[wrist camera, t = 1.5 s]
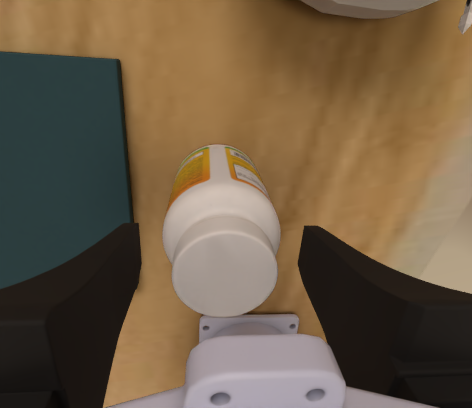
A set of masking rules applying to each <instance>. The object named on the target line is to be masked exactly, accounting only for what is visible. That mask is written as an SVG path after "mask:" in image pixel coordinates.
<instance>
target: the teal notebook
mask: <svg viewBox="0 0 472 408" xmlns="http://www.w3.org/2000/svg"><path fill="white" fill-rule="evenodd" d="M123 223H133V211H132V199H131V187H130V175H129V163H128V151H127V139H126V128H125V116H124V104H123V92H122V80H121V68H120V60H118V59H106V58H91V57H76V56H61V55H45V54H30V53H15V52H0V289H2V288H5V287H8V286H11V285H14V284H17V283H20V282H22V281H25V280H28V279H30V278H32V277H35V276H37V275H39V274H42V273H44V272H46V271H49V270H51V269H53V268H55V267H57V266H59V265H61V264H63V263H65V262H67V261H68V260H70V259H72V258H74V257H75V256H77V255H79V254H80V253H82V252H83V251H85V250H86V249H88V248H89V247H91V246H92V245H94V244H95V243H97V242H98V241H100V240H101V239H102V238H104V237H105V236H106V235H108V234H109V233H111V232H112V231H113V230H114V229H116V228H117V227H119V226H120V225H121V224H123ZM138 283H139V282H138ZM138 283H137V286H138ZM137 286H136V289H137ZM136 289H135V290H136Z"/></svg>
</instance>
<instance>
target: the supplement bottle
mask: <svg viewBox="0 0 472 408" xmlns="http://www.w3.org/2000/svg"><path fill="white" fill-rule="evenodd" d="M280 237H281V232H280V224H279V220H278V217H277V214H276V211H275V209H274V207H273V204H272V202H271V200H270V198H269V196H268V193H267V191H266V189H265V186H264V184H263V182H262V180H261V178H260V175H259V173H258V171H257V169H256V167H255V165H254V164H253V162H252V161H251V160H250V158H249V157H248V156H247V155H245V154H244V153H243V152H241V151H240V150H238V149H236V148H234V147H231V146H227V145H220V144H214V145H208V146H204V147H202V148H199V149H197V150H195V151H194V152H192V153H191V154H190V155H188V156H187V157H186V158H185V159H184V161H183V162H182V164H181V165H180V167H179V169H178V171H177V174H176V177H175V181H174V185H173V189H172V193H171V197H170V201H169V204H168V208H167V212H166V216H165V220H164V225H163V245H164V249H165V252H166V255H167V257H168V259H169V261H170V262H171V264H172V265H173V266H172V283H173V286H174V289H175V292H176V294H177V295H178V297H179V298H180V300H181V301H182V302H183V303H184V304H185V305H187V306H188V307H189V308H191V309H192V310H194V311H196V312H198V313H201V314H203V315H207V316H212V317H232V316H238V315H241V314H244V313H247V312H249V311H251V310H253V309H255V308H256V307H258V306H259V305H261V304H262V303H263V302H264V301H265V300H266V299H267V298H268V297H269V295H270V294H271V293H272V291H273V289H274V287H275V285H276V281H277V277H278V266H277V261H276V258H275V256H276V254H277V251H278V248H279V245H280Z"/></svg>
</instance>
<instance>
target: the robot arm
mask: <svg viewBox="0 0 472 408" xmlns="http://www.w3.org/2000/svg"><path fill="white" fill-rule="evenodd" d="M141 264H142V262H141V249H140V236H139V223H123V224H121V225H120V226H119V227H117V228H116V229H114V230H113V231H112V232H111V233H109V234H108V235H106V236H105V237H104V238H102V239H101V240H100V241H98V242H97V243H95V244H94V245H92V246H91V247H89V248H88V249H86V250H85V251H83V252H82V253H80V254H79V255H77V256H75V257H74V258H72V259H70V260H68V261H67V262H65V263H63V264H61V265H59V266H57V267H55V268H53V269H51V270H49V271H46V272H44V273H42V274H39V275H37V276H35V277H32V278H30V279H28V280H25V281H22V282H20V283H17V284H14V285H11V286H8V287H5V288H2V289H0V408H103V403H104V399H105V394H106V389H107V384H108V380H109V375H110V371H111V366H112V362H113V358H114V354H115V350H116V345H117V341H118V337H119V334H120V331H121V328H122V325H123V322H124V319H125V317H126V314H127V311H128V308H129V306H130V303H131V300H132V298H133V295H134V292H135V289H136V286H137V283H138V279H139V274H140V269H141ZM298 267H299V271H300V275H301V278H302V282H303V284H304V287H305V289H306V291H307V294H308V296H309V298H310V301H311V303H312V305H313V307H314V310H315V312H316V314H317V316H318V319H319V321H320V323H321V326H322V328H323V331H324V333H325V336H326V340H327V343H328V344H327V343H326V342H325V341H324V340H322V339H321V338H320V337H316V336H311V335H305V334H297V330H298V325H299V318H298V316H297V315H295V314H265V315H238V316H232V317H212V316H207V315H205V316H202V317H201V318H200V325H199V345H197V346H196V347H194V348H193V349H192V350H191V352H190V354H189V357H188V359H187V362H186V374H185V384H184V385H183V386H181V387H178V388H174V389H170V390H167V391H163V392H160V393H156V394H152V395H149V396H145V397H142V398H138V399H134V400H131V401H127V402H124V403H120V404H116V405H113V406H109V407H105V408H472V294H470V293H465V292H461V291H457V290H453V289H449V288H445V287H441V286H438V285H435V284H432V283H429V282H425V281H422V280H420V279H417V278H414V277H412V276H409V275H406V274H404V273H401V272H399V271H396V270H394V269H392V268H390V267H388V266H385V265H383V264H381V263H379V262H377V261H375V260H373V259H371V258H370V257H368V256H366V255H364V254H362V253H361V252H359V251H357V250H356V249H354V248H352V247H351V246H349V245H348V244H346V243H345V242H343V241H341V240H340V239H338V238H337V237H335V236H334V235H332V234H331V233H329V232H328V231H326V230H324V229H323V228H321V227H319V226H304V230H303V236H302V242H301V247H300V253H299V259H298ZM291 324H293V325H291ZM204 326H207V327H204Z"/></svg>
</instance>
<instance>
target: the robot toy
mask: <svg viewBox="0 0 472 408" xmlns="http://www.w3.org/2000/svg"><path fill="white" fill-rule="evenodd" d="M300 1H302V2H304V3H306V4H307V5H309V6H311V7H313V8H314V9H316V10H318V11H320V12H322V13H328V14H334V15H341V16H348V17H355V18H362V19H384V18H391V17H396V16H399V15H402V14H405V13H408V12H410V11H413V10H416V9H419V8H422V7H424V6H426V5H429V4H431V3H434V2H436V1H439V0H300ZM471 23H472V0H467V2H466V6H465V10H464V14H463V15H462V16H461V19H460V22H459V26H458V28H459V29H460V31H461V33H462V34H463V33H464V32H465V31H466V30H467V29H468V28H469V27H470V26H471Z"/></svg>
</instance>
